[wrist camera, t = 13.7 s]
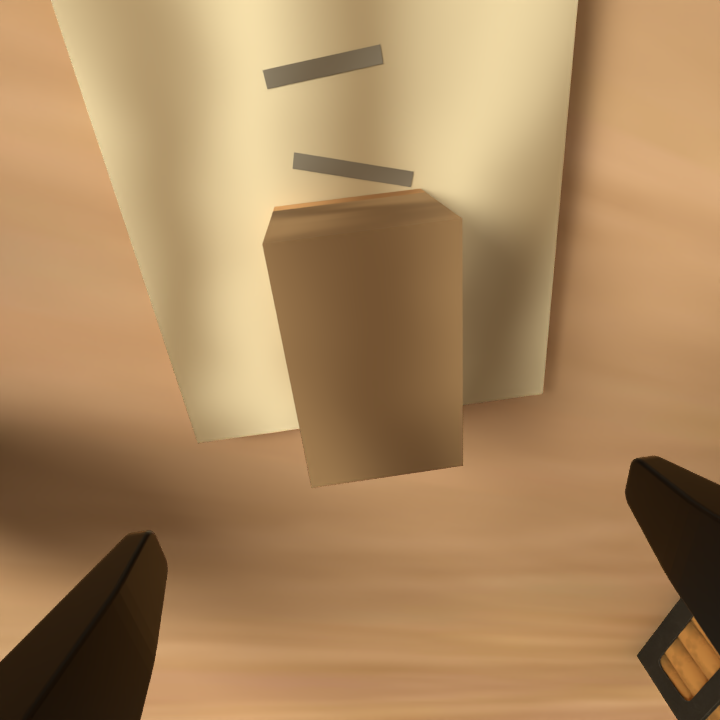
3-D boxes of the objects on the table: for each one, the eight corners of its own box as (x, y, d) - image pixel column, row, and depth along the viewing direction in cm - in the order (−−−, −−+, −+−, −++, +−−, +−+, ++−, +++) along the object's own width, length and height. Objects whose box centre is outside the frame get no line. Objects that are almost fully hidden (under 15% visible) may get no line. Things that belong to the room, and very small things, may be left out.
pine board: (204, 422, 22) (197, 443, 20) (-36, -339, 11) (-82, -399, 10) (528, 376, 22) (543, 394, 21) (583, -389, 12) (619, -453, 10)
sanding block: (310, 403, 20) (311, 488, 16) (274, 206, 16) (262, 244, 12) (428, 387, 20) (462, 465, 16) (420, 188, 16) (462, 218, 12)
